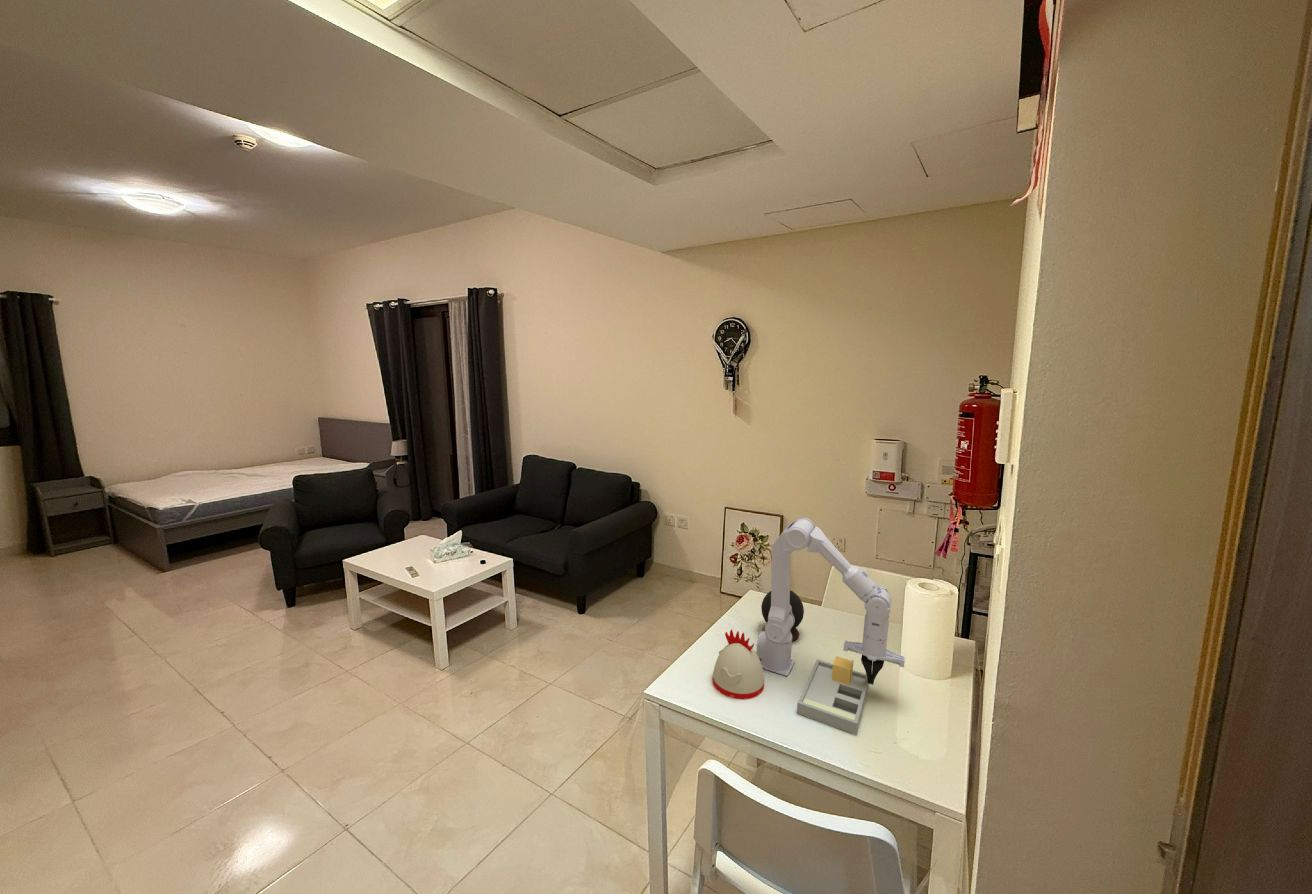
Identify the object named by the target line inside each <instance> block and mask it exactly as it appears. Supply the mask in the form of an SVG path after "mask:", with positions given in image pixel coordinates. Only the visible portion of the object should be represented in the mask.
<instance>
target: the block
mask: <svg viewBox="0 0 1312 894" xmlns="http://www.w3.org/2000/svg"><path fill="white" fill-rule="evenodd" d="M832 664H833V669H832V680H834V681H838V682H841V683H844V684H847V685H850V681H851V678H852V672H853V669H854V660H852V659H848V658H845V657H842V656H841V657H840V656H838V655H837V656H835V657H834V661H833V663H832Z"/></svg>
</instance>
